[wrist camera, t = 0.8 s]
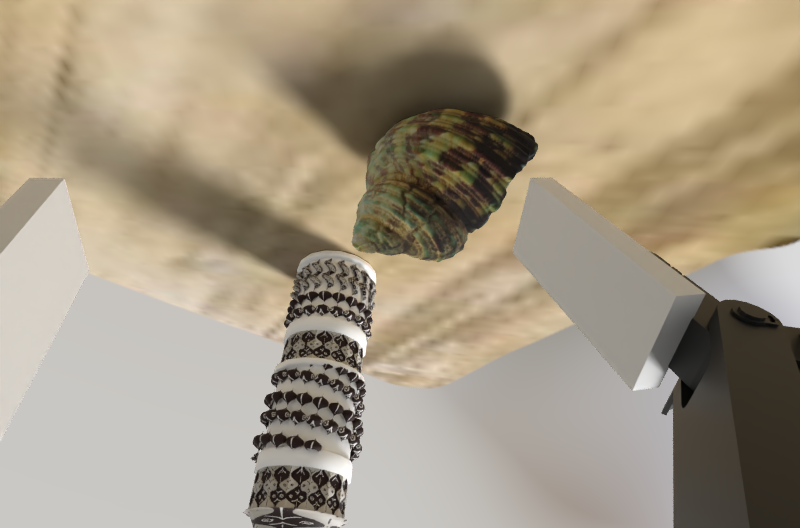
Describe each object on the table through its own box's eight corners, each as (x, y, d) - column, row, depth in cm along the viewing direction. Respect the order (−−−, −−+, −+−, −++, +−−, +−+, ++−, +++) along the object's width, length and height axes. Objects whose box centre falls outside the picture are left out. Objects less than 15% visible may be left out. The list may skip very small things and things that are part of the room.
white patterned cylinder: (280, 278, 54) (215, 537, 39) (317, 235, 47) (256, 525, 33) (353, 306, 58) (318, 552, 43) (396, 270, 51) (373, 544, 36)
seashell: (494, 202, 42) (501, 300, 36) (362, 183, 42) (348, 281, 36) (538, 96, 34) (556, 202, 28) (373, 71, 33) (356, 175, 27)
